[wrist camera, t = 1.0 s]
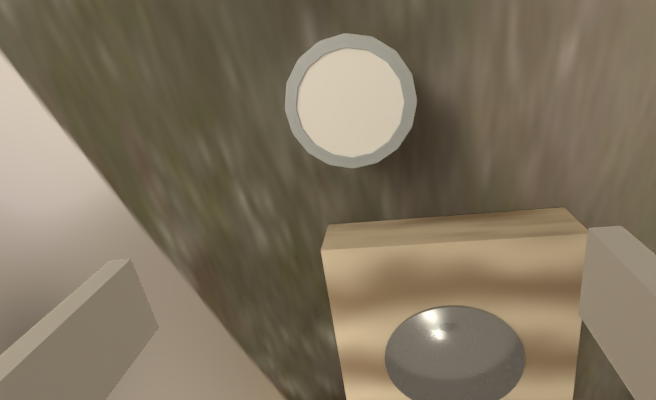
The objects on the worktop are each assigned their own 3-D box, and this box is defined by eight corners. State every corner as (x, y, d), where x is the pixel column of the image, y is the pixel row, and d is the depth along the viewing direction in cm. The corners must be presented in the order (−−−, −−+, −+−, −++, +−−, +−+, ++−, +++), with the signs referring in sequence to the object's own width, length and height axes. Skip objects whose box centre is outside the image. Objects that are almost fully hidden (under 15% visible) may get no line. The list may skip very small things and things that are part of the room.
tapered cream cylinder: (425, 111, 27) (438, 136, 20) (335, 153, 29) (321, 188, 22) (383, 11, 25) (383, 4, 18) (289, 64, 27) (259, 74, 20)
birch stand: (328, 224, 31) (320, 251, 27) (564, 207, 28) (593, 235, 24) (358, 409, 38) (355, 451, 34) (547, 411, 35) (567, 457, 31)
